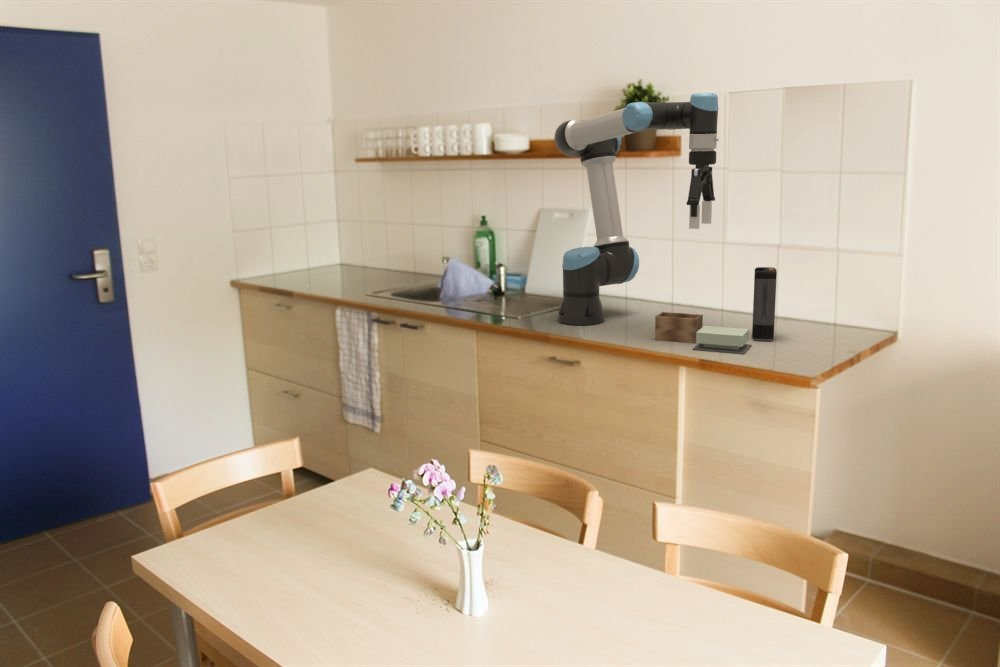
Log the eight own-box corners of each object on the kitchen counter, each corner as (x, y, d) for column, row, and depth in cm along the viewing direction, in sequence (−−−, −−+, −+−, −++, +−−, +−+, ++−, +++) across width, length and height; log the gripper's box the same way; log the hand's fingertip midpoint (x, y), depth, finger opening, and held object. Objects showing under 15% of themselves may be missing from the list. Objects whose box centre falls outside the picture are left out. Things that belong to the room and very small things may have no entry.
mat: (692, 349, 234) (692, 348, 233) (701, 341, 242) (701, 340, 242) (744, 354, 227) (744, 352, 227) (751, 345, 236) (751, 344, 236)
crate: (655, 340, 246) (655, 316, 244) (662, 334, 252) (662, 311, 250) (696, 343, 240) (696, 319, 239) (702, 338, 247) (702, 314, 245)
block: (695, 348, 234) (696, 332, 233) (703, 341, 241) (704, 325, 240) (741, 352, 228) (742, 336, 227) (748, 344, 236) (749, 329, 235)
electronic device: (752, 333, 250) (754, 266, 246) (773, 334, 248) (776, 267, 244) (751, 341, 241) (754, 271, 237) (773, 341, 240) (777, 272, 235)
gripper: (705, 151, 225) (702, 231, 230) (726, 148, 246) (723, 221, 251) (677, 151, 228) (675, 230, 233) (700, 149, 250) (698, 221, 255)
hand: (700, 226), depth 242 cm, fingers open, 13 cm apart
